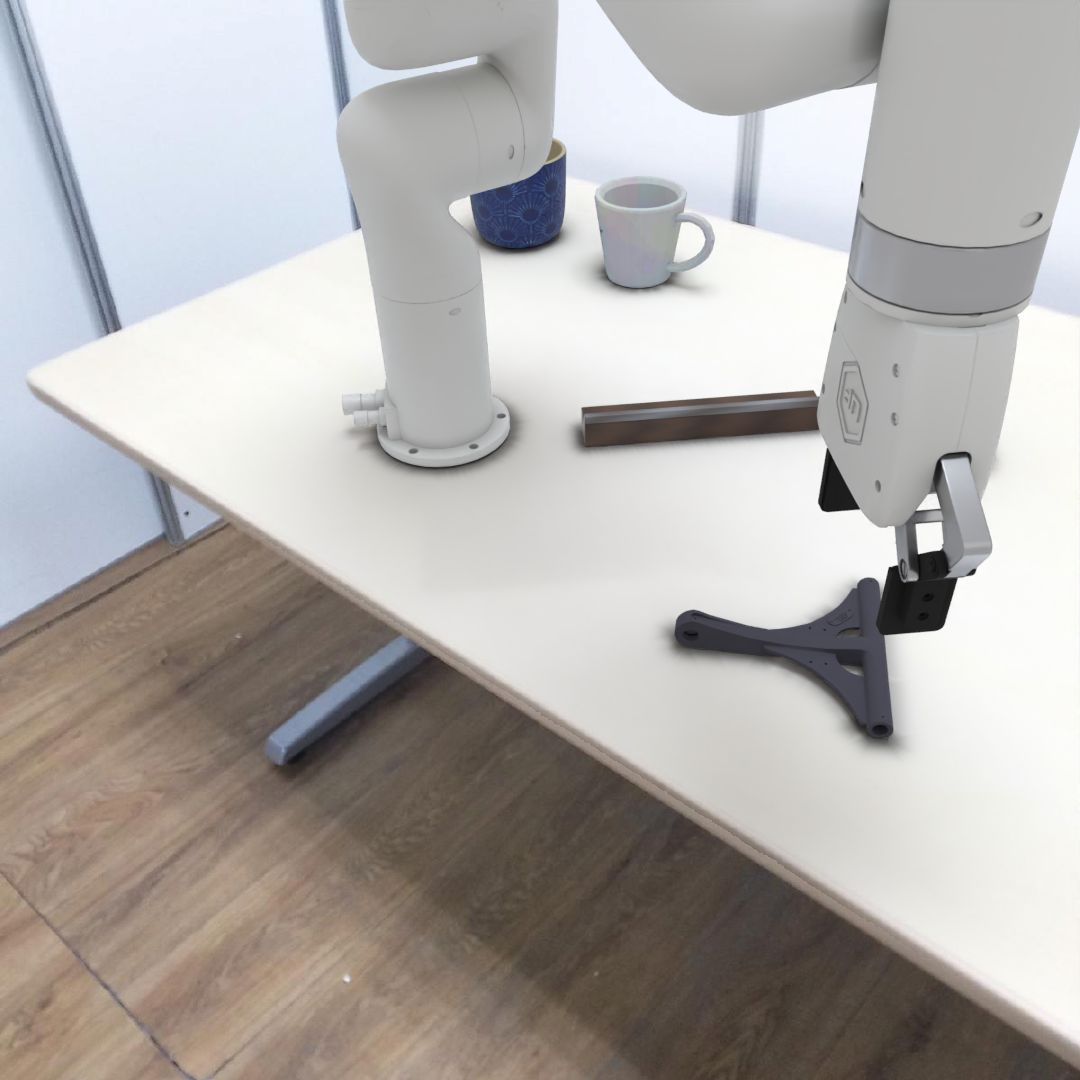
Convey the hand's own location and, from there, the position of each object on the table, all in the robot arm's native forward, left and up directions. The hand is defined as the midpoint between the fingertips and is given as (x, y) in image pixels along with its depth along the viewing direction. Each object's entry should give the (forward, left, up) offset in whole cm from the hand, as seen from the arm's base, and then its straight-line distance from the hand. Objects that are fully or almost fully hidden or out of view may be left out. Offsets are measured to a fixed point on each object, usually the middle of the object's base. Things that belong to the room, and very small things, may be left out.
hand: (875, 564), depth 54 cm
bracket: (0, +12, -19) cm, 22 cm away
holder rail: (0, +41, -19) cm, 45 cm away
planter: (-14, +88, -19) cm, 91 cm away
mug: (+1, +73, -19) cm, 75 cm away
